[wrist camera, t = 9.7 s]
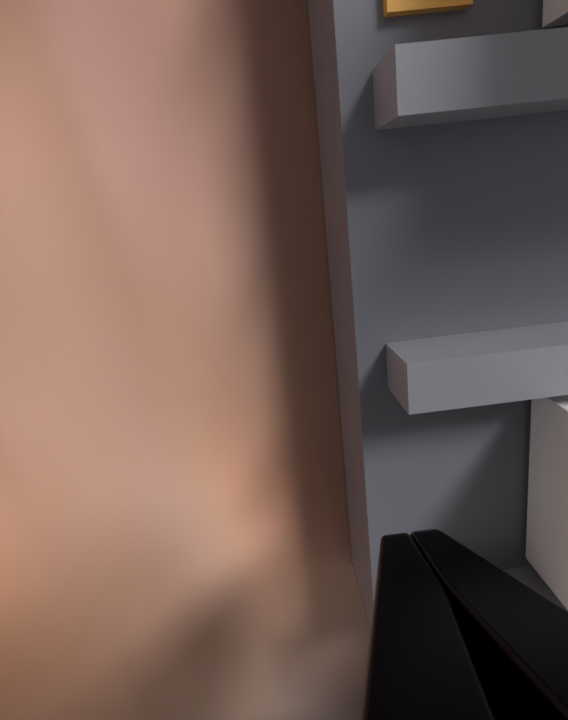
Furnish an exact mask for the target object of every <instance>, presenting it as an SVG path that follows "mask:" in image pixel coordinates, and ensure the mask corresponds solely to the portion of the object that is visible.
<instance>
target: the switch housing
mask: <svg viewBox="0 0 568 720" xmlns="http://www.w3.org/2000/svg"><path fill="white" fill-rule="evenodd" d="M308 13H309V26H310V38H311V51H312V63H313V76H314V88H315V101H316V113H317V126H318V139H319V151H320V164H321V176H322V189H323V201H324V214H325V227H326V239H327V252H328V264H329V277H330V289H331V302H332V314H333V327H334V340H335V352H336V365H337V377H338V390H339V402H340V415H341V428H342V440H343V453H344V465H345V478H346V490H347V503H348V516H349V528H350V541H351V553H352V564H353V568H354V571H355V575H356V578H357V582H358V585H359V588H360V592H361V595H362V599H363V602H364V605H365V609H366V612H367V616H368V619H369V623H370V626H371V622H372V613H373V604H374V595H375V586H376V577H377V568H378V559H379V550H380V541H381V538H382V536H384V535H389V534H397V533H408V534H409V535H410V534H411V533H412V532H414V531H420V530H428V529H438V530H440V531H442V532H444V533H445V534H447V535H449V536H450V537H452V538H453V539H455V540H456V541H458V542H460V543H461V544H463V545H464V546H466V547H467V548H469V549H471V550H472V551H474V552H475V553H477V554H478V555H480V556H482V557H483V558H485V559H486V560H488V561H489V562H491V563H493V564H494V565H496V566H497V567H499V568H500V569H502V570H504V571H505V572H507V573H508V574H510V575H511V576H513V577H515V578H516V579H518V580H519V581H521V582H522V583H524V584H526V585H527V586H529V587H530V588H532V589H533V590H535V591H537V592H538V593H540V594H541V595H543V596H544V597H546V598H548V599H549V600H551V601H552V602H554V603H555V604H557V605H559V606H560V607H562V608H563V609H565V610H566V611H568V610H567V609H566V608H565V606H564V605H563V604H562V603H561V601H560V600H559V599H558V598H557V596H556V595H555V594H554V593H553V591H552V590H551V589H550V588H549V586H548V585H547V584H546V583H545V581H544V580H543V579H542V578H541V576H540V575H539V574H538V573H537V571H536V570H535V569H534V568H533V566H532V565H531V564H530V563H529V561H528V560H527V559H526V558H525V556H526V530H527V504H528V478H529V452H530V425H531V399H539V398H547V397H555V396H563V395H568V25H566V26H556V27H546V28H542V16H543V0H308Z"/></svg>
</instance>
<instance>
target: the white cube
mask: <svg viewBox="0 0 568 720" xmlns="http://www.w3.org/2000/svg"><path fill="white" fill-rule="evenodd" d="M566 25H568V0H543V16H542V28H546V27H556V26H566Z"/></svg>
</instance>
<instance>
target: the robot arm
mask: <svg viewBox="0 0 568 720" xmlns="http://www.w3.org/2000/svg"><path fill="white" fill-rule="evenodd" d="M361 720H568V611H566V610H565V609H563V608H562V607H560V606H559V605H557V604H555V603H554V602H552V601H551V600H549V599H548V598H546V597H544V596H543V595H541V594H540V593H538V592H537V591H535V590H533V589H532V588H530V587H529V586H527V585H526V584H524V583H522V582H521V581H519V580H518V579H516V578H515V577H513V576H511V575H510V574H508V573H507V572H505V571H504V570H502V569H500V568H499V567H497V566H496V565H494V564H493V563H491V562H489V561H488V560H486V559H485V558H483V557H482V556H480V555H478V554H477V553H475V552H474V551H472V550H471V549H469V548H467V547H466V546H464V545H463V544H461V543H460V542H458V541H456V540H455V539H453V538H452V537H450V536H449V535H447V534H445V533H444V532H442V531H440V530H438V529H428V530H420V531H414V532H412V533H411V534H410V535H409V534H408V533H397V534H389V535H384V536H382V538H381V541H380V550H379V559H378V568H377V577H376V586H375V595H374V604H373V613H372V622H371V631H370V640H369V649H368V658H367V667H366V676H365V685H364V694H363V703H362V712H361Z"/></svg>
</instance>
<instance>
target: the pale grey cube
mask: <svg viewBox="0 0 568 720" xmlns="http://www.w3.org/2000/svg"><path fill="white" fill-rule="evenodd" d="M525 558H526V559H527V560H528V561H529V563H530V564H531V565H532V566H533V568H534V569H535V570H536V571H537V573H538V574H539V575H540V576H541V578H542V579H543V580H544V581H545V583H546V584H547V585H548V586H549V588H550V589H551V590H552V591H553V593H554V594H555V595H556V596H557V598H558V599H559V600H560V601H561V603H562V604H563V605H564V606H565V608H566V609H567V610H568V395H563V396H555V397H547V398H539V399H531V425H530V452H529V478H528V504H527V530H526V556H525Z"/></svg>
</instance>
